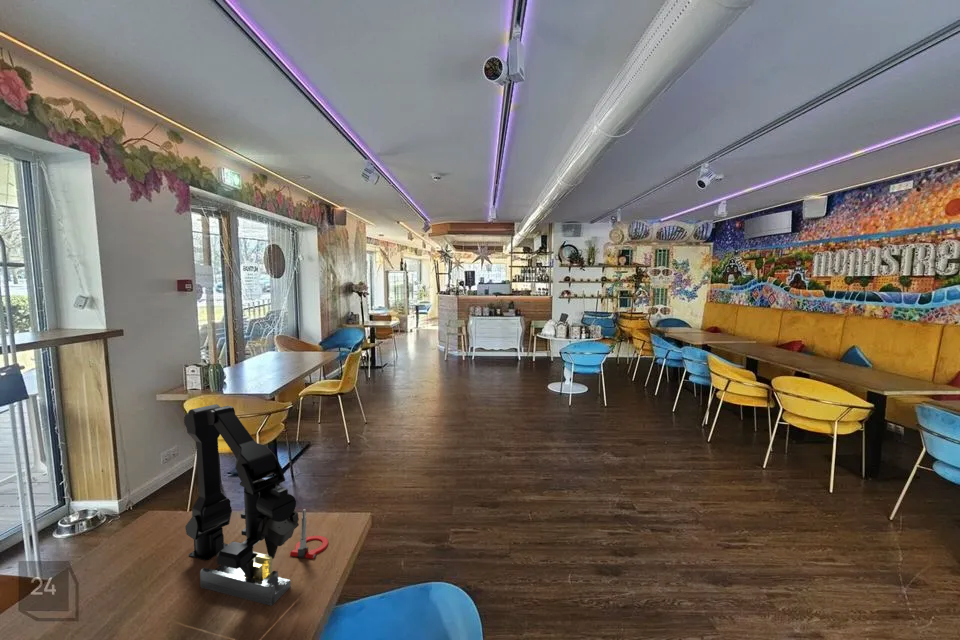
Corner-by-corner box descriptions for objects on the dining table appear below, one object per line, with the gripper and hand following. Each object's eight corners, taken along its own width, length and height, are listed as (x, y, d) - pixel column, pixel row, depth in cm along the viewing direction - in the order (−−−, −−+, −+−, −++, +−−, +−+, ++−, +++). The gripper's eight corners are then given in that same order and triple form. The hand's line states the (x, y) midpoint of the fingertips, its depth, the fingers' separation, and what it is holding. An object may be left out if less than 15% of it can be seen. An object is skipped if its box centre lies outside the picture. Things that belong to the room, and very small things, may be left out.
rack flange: (200, 588, 94) (200, 570, 94) (222, 571, 100) (222, 554, 100) (271, 606, 89) (271, 587, 89) (290, 587, 95) (290, 569, 95)
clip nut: (245, 584, 93) (244, 564, 93) (258, 572, 97) (258, 553, 97) (259, 588, 92) (259, 567, 92) (272, 576, 96) (272, 556, 96)
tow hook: (306, 537, 115) (286, 557, 106) (307, 493, 115) (287, 509, 106) (333, 541, 114) (315, 561, 105) (335, 496, 114) (317, 513, 104)
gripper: (256, 537, 83) (259, 606, 84) (314, 490, 101) (315, 548, 102) (212, 528, 85) (216, 595, 87) (276, 484, 103) (278, 540, 105)
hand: (261, 567), depth 95 cm, fingers open, 6 cm apart
